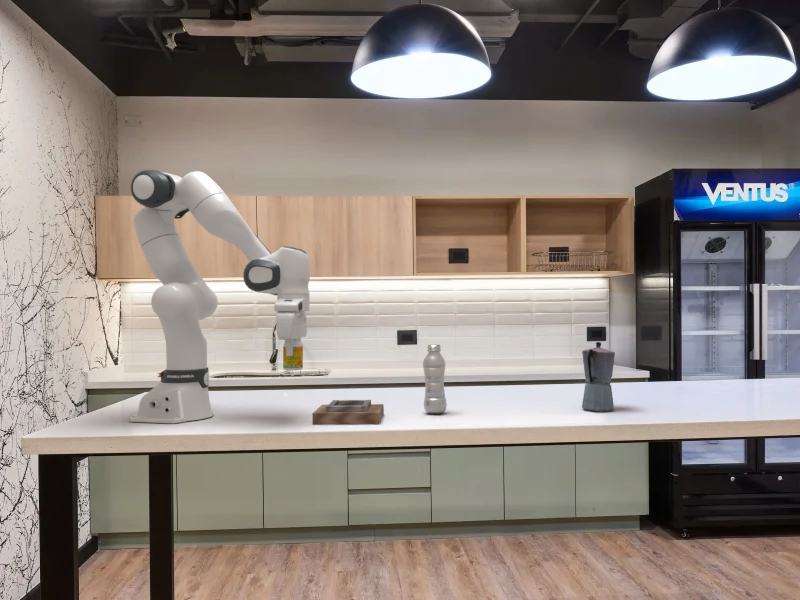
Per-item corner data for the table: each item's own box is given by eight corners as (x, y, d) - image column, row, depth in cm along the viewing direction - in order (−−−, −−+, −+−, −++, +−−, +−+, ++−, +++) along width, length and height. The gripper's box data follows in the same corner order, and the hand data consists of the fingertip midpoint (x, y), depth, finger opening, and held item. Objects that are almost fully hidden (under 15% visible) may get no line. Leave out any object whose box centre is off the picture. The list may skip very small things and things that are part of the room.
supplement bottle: (285, 371, 154) (285, 335, 154) (281, 368, 159) (281, 334, 159) (305, 370, 156) (305, 334, 156) (300, 367, 161) (300, 333, 161)
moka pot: (620, 407, 170) (619, 341, 171) (609, 416, 157) (607, 344, 158) (588, 405, 176) (587, 340, 176) (574, 413, 163) (573, 343, 163)
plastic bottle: (445, 415, 161) (444, 345, 161) (422, 415, 162) (420, 345, 163) (448, 411, 167) (447, 344, 168) (425, 411, 169) (424, 344, 169)
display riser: (312, 424, 152) (312, 407, 152) (322, 414, 166) (322, 399, 166) (379, 424, 151) (379, 407, 151) (383, 414, 165) (383, 399, 165)
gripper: (291, 305, 168) (290, 351, 168) (272, 304, 148) (271, 357, 147) (312, 305, 168) (311, 352, 168) (296, 304, 147) (295, 358, 147)
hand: (292, 354), depth 157 cm, fingers closed on supplement bottle, 5 cm apart
